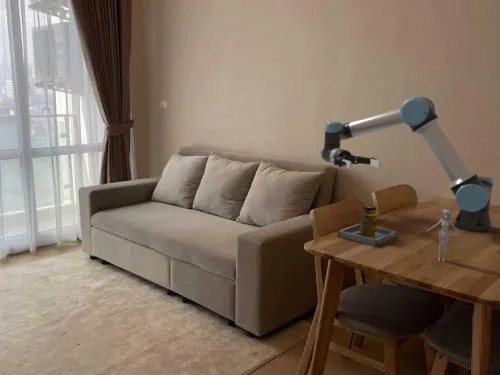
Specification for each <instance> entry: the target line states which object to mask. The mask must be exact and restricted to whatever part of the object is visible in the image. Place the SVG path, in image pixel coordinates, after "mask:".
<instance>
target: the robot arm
mask: <svg viewBox="0 0 500 375" xmlns="http://www.w3.org/2000/svg"><path fill="white" fill-rule="evenodd" d="M439 119H440V117H439V116H438V114H436V107H435V104H434V103H433V101H432V100H431V99H430V98H427V97H423V96H421V97H420V96H413V97H410V98H407V99H406V100H405V101H404V102H403V103H402V104H401V106H400V107H399V108H395V109H392V110H388V111H385V112H382V113H381V112H380V113H378V114H375V115H371V116H367V117H363V118H359V119H357V120H354V121H350V122H345V123H342V122H341V121H335V120H334V121H333V120H331V121H330V120H329V121H326V123H325V128H324V144H323V147H322V148H321V150H320V151H319V155H320V158H321V160H323V161H325V162H326V163H330V164H333V166H337V167H338V168H342V167H343V168H347V169H352V165H359V164H361V165H369V166H372V167H375V168H377V169H378V168H381V160H378V159H377V158H375V157H374V156H373V157H367V156H366V157H365V156H360V155H353V154H352V153H351V152H350V151H349V150H347V149H342V148H341V141H344V140H349V139H352V138H355V137H359V136H363V135H366V134H367V135H368V134H371V133H375V132H378V131H382V130H386V129H387V130H388V129H390V128H394V127H398V126H402V125H407V126H408V127H409V128H410V129H411V131H412V132H413V134H414V135H419V136H420V138H421V139H422V141H423V142H424V145H425V146H426V147H427V148H428V150H429V152H430V153H431V155H432V156H433V158H434V159H435V161H436V163H437V164H438V166H439V167H440V168H441V170H442V172H443V173H444V175H446V178H447V179H448V181H449V182H450V185H449V189H450V190H451V192H452V193H453V195H454V197H455V198H454V199H455V202H456V205H457V206H458V207H459V208H460V209H459V210H458V213H457V214H456V217H455V219H454V224H453V225H454V227H456V228H457V229H462V230H466V231H472V232H481V233H482V232H484V233H485V232H490V231H492V228H493V227H492V226H493V223H492V219H491V214H490V210H491V209H490V207H491V200H492V199H491V198H492V194H493V192H492V190H493V186H494V179H493V178H492V177H489V176H479V175H477V173H476V172H472V171H471V170H469V169H468V166H467V165H466V164H465V162H464V161H463V159H462V158H461V156H460V155H459V154H458V152H457V151H456V149H455V147H454V145H453V144H452V143H451V141H450V139H448V136H447V135H446V134H445V132H444V130H443V129H442V128H441V126H440V125H439Z"/></svg>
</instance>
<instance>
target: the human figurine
mask: <svg viewBox="0 0 500 375" xmlns="http://www.w3.org/2000/svg"><path fill="white" fill-rule="evenodd" d="M451 218H452V211H451V210H449V209H443V211H442V217H441V219H440V220H439V221H437V223H436V224H433V225H432V226H431V227H430V228H428V229H427V232H429V231H430V230H431V229H433V228H435V227H437V226H438V225H441V227H442V228H441V229H440V230H439V232H438V242H439V245H438V248H439V249H438V259H437V260H438V261H439V262H440V261H442V262H445V261H446V253H447V244H448V243H449V239H450V235H451V233H450V230H448V228H449V227H450V226H451V227H453V229H454V230H455V231H456V232H457V233H458V234H459V235H460V236H461V237H462V238H463V237H464V236H463V234H462V233H461V232H460V231H459V230H458V229H459V228H458V227H456V226H455V225H454V224H453V222H452V220H451ZM442 250H443V253H442ZM442 254H443V257H441V256H442ZM441 258H442V260H441Z"/></svg>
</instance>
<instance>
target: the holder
mask: <svg viewBox="0 0 500 375" xmlns="http://www.w3.org/2000/svg"><path fill="white" fill-rule="evenodd" d="M360 223H361V222H360ZM360 223H356V224H354V225H352V226H349V227H348V226H347V227H345V228H343V229H340V230H337V238H340V237H341V239H344V238H345V239H344V240H348V239H349V240H348V241H352V242H355V241H356V243H360V244H364V245H368V246H371V247H379V246H381V245H383V244H385V243H387V242H390V241H392V240H394V239H397V237H398V236H397V234H398V232H397V231H395V230H390V229H386V228H383V227H377V226H376V228H375V235H378V236H379V237H373V238H368V237H364V236H360V235H356V234H352V233H360Z"/></svg>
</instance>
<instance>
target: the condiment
mask: <svg viewBox="0 0 500 375" xmlns="http://www.w3.org/2000/svg"><path fill="white" fill-rule="evenodd" d="M377 217H378V216H377V206H374V205H370V204H369V205H368V204H367V205H365V204H364V205H363V206H362V209H361V214H360V233H352V234H356V235H360V236H364V237H368V238H373V237H379V236H378V235H375V228H376V227H377Z"/></svg>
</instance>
